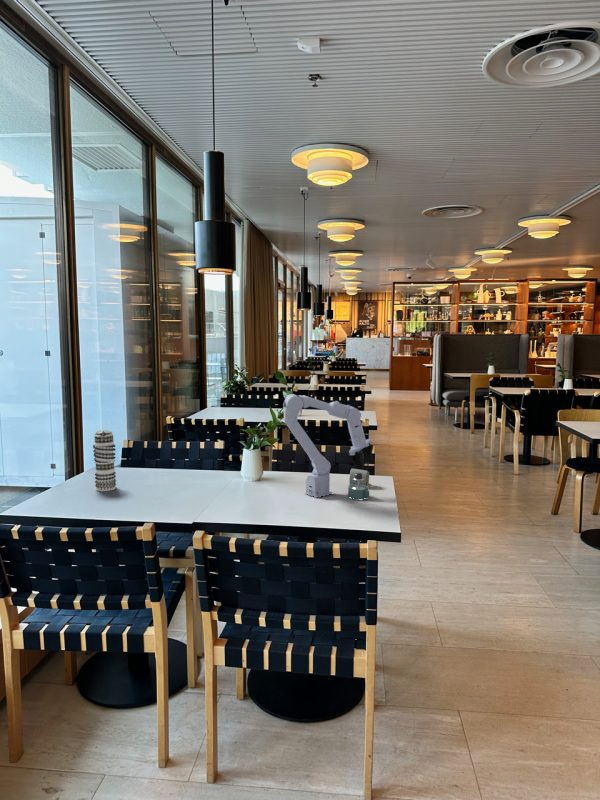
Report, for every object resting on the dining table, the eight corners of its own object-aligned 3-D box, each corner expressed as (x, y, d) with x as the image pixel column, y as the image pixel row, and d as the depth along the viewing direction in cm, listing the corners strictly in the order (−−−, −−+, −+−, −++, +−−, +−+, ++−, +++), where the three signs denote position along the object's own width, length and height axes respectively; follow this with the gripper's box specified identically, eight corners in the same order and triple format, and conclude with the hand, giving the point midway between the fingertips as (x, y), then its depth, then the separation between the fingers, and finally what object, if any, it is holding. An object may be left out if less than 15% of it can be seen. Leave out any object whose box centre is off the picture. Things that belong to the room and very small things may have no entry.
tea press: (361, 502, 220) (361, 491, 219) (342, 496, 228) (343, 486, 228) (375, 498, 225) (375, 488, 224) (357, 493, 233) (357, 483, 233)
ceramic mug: (367, 489, 240) (368, 471, 239) (349, 487, 241) (349, 470, 241) (370, 483, 250) (370, 466, 249) (351, 482, 252) (352, 465, 251)
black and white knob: (358, 491, 223) (358, 476, 222) (348, 488, 227) (348, 473, 226) (368, 489, 226) (368, 474, 225) (358, 486, 230) (358, 471, 230)
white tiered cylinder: (102, 492, 233) (100, 433, 230) (90, 489, 238) (87, 431, 236) (121, 488, 240) (119, 430, 237) (108, 484, 246) (106, 428, 243)
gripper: (356, 440, 224) (364, 471, 226) (374, 428, 235) (381, 459, 237) (342, 441, 228) (350, 472, 230) (360, 430, 239) (367, 459, 241)
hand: (365, 465), depth 234 cm, fingers open, 7 cm apart
